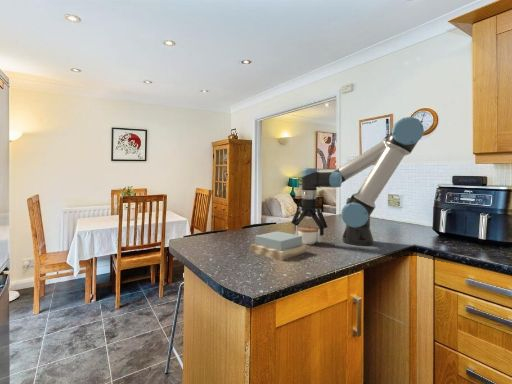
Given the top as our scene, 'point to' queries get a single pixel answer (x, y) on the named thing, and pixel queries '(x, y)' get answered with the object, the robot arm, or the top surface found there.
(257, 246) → the tower base
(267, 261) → the top surface
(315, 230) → the lidded jar
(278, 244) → the tower top
